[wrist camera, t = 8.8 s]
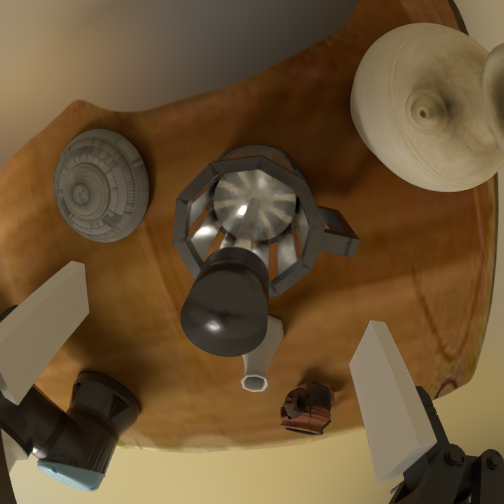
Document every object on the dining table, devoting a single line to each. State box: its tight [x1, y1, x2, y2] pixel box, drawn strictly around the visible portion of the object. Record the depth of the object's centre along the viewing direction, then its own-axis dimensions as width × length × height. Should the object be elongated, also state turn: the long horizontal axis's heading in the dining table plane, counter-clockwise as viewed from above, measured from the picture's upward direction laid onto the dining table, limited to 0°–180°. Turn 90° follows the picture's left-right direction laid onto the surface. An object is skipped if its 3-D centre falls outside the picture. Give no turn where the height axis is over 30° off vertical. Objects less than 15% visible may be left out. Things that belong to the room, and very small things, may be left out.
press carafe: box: [173, 144, 360, 297], centre depth 28 cm, size 15×12×13 cm
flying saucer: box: [54, 129, 149, 243], centre depth 32 cm, size 15×15×6 cm
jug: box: [350, 23, 504, 192], centre depth 17 cm, size 15×16×25 cm
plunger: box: [181, 170, 296, 357], centre depth 22 cm, size 8×8×21 cm
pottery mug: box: [280, 383, 334, 435], centre depth 45 cm, size 12×10×8 cm
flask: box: [241, 315, 284, 392], centre depth 37 cm, size 7×7×10 cm
